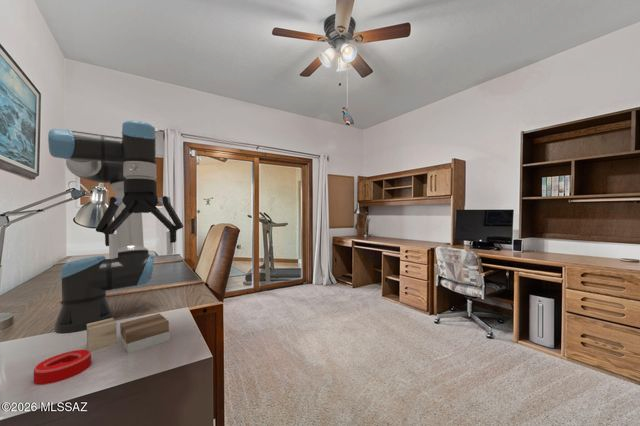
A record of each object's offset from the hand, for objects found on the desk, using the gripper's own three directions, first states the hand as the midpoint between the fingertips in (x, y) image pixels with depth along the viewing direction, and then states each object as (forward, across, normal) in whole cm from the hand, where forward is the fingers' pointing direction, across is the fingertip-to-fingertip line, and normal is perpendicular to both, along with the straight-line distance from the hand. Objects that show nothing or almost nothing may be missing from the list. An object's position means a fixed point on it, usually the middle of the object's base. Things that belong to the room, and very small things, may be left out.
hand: (142, 256), depth 71 cm
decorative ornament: (+26, -15, -6) cm, 30 cm away
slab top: (+23, -2, +5) cm, 23 cm away
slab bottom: (+26, -2, +5) cm, 26 cm away
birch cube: (+26, -14, +8) cm, 30 cm away
